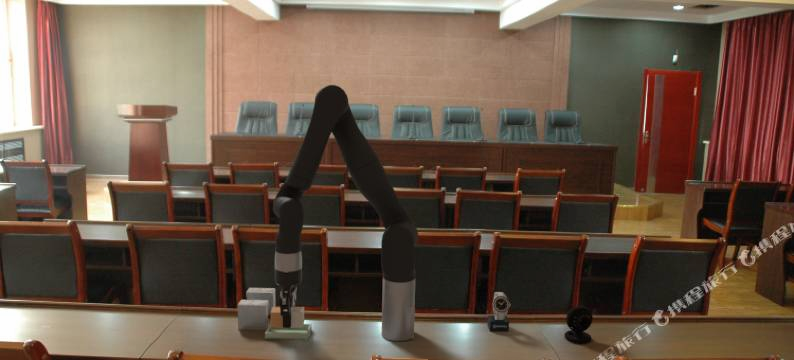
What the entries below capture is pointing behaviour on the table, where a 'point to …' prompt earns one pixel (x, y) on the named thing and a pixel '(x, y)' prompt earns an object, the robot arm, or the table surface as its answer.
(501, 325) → the watch
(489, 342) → the table surface
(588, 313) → the webcam
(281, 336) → the tray
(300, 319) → the two-tone eraser block
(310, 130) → the robot arm
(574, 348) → the table surface
